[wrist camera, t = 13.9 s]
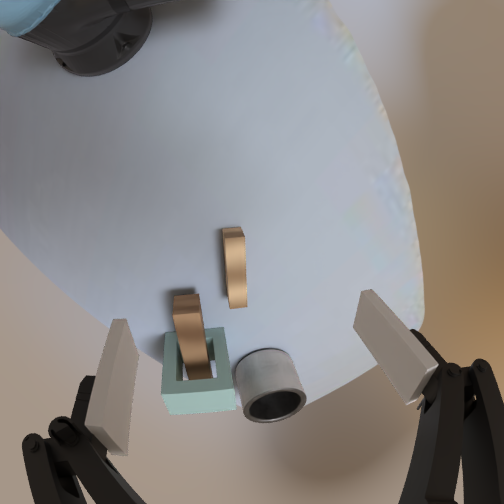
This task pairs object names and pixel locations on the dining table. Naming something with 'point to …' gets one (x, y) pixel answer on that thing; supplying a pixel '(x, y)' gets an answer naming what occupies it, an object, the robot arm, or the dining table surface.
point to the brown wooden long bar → (192, 336)
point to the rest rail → (235, 267)
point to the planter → (269, 386)
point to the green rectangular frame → (197, 391)
